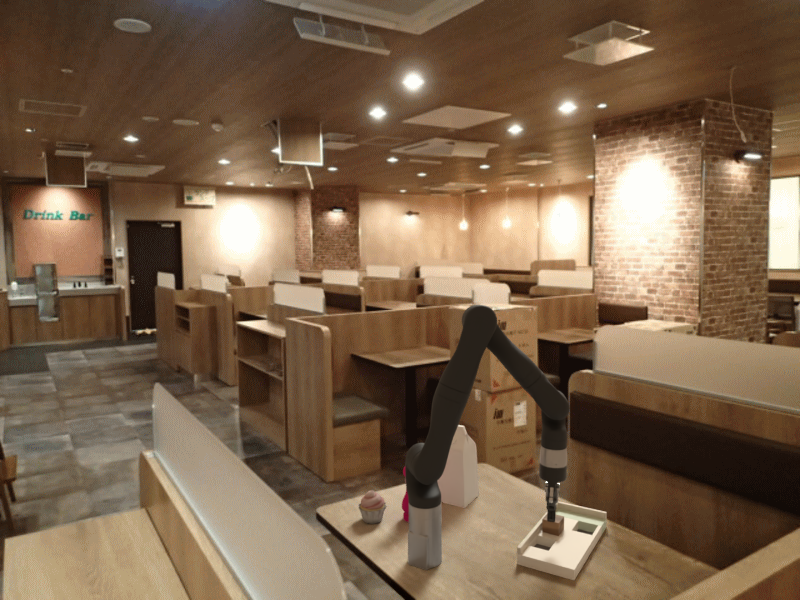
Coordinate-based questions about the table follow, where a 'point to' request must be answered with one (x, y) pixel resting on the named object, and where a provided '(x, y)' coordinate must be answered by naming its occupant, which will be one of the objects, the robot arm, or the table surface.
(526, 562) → the tray
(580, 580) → the table surface
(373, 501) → the cupcake
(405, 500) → the pepper mill
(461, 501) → the milk
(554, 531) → the block
